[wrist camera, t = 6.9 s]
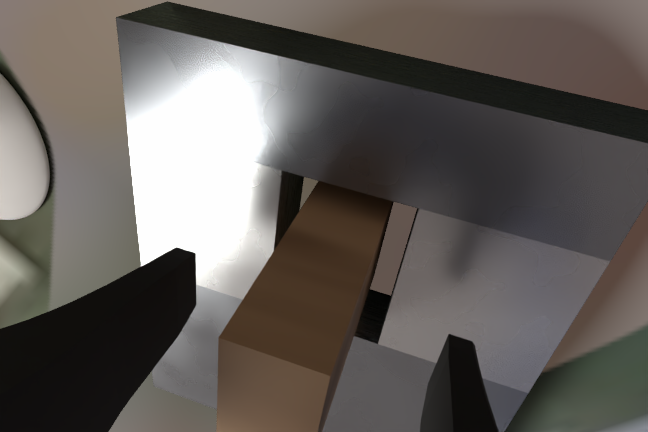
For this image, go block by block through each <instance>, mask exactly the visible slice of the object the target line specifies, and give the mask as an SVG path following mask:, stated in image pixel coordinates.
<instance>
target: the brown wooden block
mask: <svg viewBox="0 0 648 432" xmlns="http://www.w3.org/2000/svg"><path fill="white" fill-rule="evenodd" d="M393 202H394V201H390V200H386V199H383V198H379V197H376V196H372V195H368V194H365V193H361V192H358V191H354V190H350V189H347V188H343V187H340V186H336V185H332V184H329V183H325V182H322V181H318V183H317V185H316V186H315V188H314V189H313V191H312V192H311V194H310V195H309V197H308V199H307V200H306V202H305V203H304V205H303V206H302V208H301V209H300V211H299V213H298V214H297V216H296V217H295V219H294V220H293V222H292V224H291V225H290V227H289V228H288V230H287V231H286V233H285V234H284V236H283V238H282V239H281V241H280V242H279V244H278V245H277V247H276V249H275V250H274V252H273V253H272V255H271V256H270V258H269V259H268V261H267V263H266V264H265V266H264V267H263V269H262V270H261V272H260V274H259V275H258V277H257V278H256V280H255V281H254V283H253V285H252V286H251V288H250V289H249V291H248V292H247V294H246V295H245V297H244V299H243V300H242V302H241V303H240V305H239V306H238V308H237V310H236V311H235V313H234V314H233V316H232V317H231V319H230V320H229V322H228V324H227V325H226V327H225V328H224V330H223V331H222V333H221V335H220V336H219V338H218V385H217V432H322V431H323V428H324V425H325V422H326V419H327V416H328V413H329V410H330V407H331V404H332V401H333V398H334V395H335V392H336V389H337V386H338V383H339V380H340V377H341V374H342V371H343V368H344V365H345V361H346V358H347V355H348V352H349V349H350V346H351V343H352V340H353V337H354V334H355V331H356V328H357V325H358V322H359V319H360V316H361V313H362V310H363V307H364V304H365V301H366V298H367V295H368V292H369V289H370V286H371V283H372V280H373V277H374V274H375V269H376V266H377V262H378V258H379V255H380V251H381V247H382V243H383V240H384V236H385V232H386V228H387V224H388V221H389V217H390V213H391V209H392V206H393Z"/></svg>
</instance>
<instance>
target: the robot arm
mask: <svg viewBox="0 0 648 432" xmlns="http://www.w3.org/2000/svg"><path fill="white" fill-rule="evenodd" d="M195 307H196V253H194V252H191V251H187V250H184V249H181V248H178V247H175V248H174V249H172V250H170V251H168V252H166V253H164V254H162V255H161V256H159V257H157V258H155V259H153V260H152V261H150V262H148V263H146V264H144V265H143V266H141V267H139V268H137V269H136V270H134V271H132V272H130V273H128V274H126V275H124V276H123V277H121V278H119V279H117V280H115V281H113V282H111V283H110V284H108V285H106V286H104V287H102V288H99V289H97V290H95V291H93V292H91V293H89V294H87V295H85V296H83V297H81V298H79V299H77V300H75V301H73V302H70V303H68V304H66V305H64V306H61V307H59V308H57V309H54V310H52V311H49V312H47V313H44V314H41V315H39V316H36V317H34V318H31V319H29V320H26V321H23V322H20V323H17V324H14V325H11V326H8V327H5V328H2V329H0V432H108V431H109V430H110V428H111V427H112V425H113V423H114V422H115V420H116V419H117V417H118V416H119V414H120V412H121V411H122V409H123V408H124V407H125V405H126V404H127V402H128V401H129V400H130V398H131V397H132V396H133V394H134V393H135V392H136V390H137V389H138V388H139V387H140V385H141V384H142V383H143V381H144V380H145V379H146V378H147V376H148V375H149V374H150V372H151V371H152V370H153V368H154V367H155V366H156V365H157V363H158V362H159V361H160V359H161V358H162V357H163V356H164V354H165V353H166V352H167V350H168V349H169V348H170V346H171V345H172V344H173V342H174V341H175V340H176V338H177V337H178V336H179V334H180V332H181V331H182V329H183V327H184V326H185V324H186V323H187V321H188V319H189V317H190V315H191V314H192V312H193V310H194V308H195ZM420 432H499V430H498V427H497V424H496V421H495V418H494V415H493V412H492V409H491V406H490V403H489V400H488V397H487V393H486V390H485V386H484V382H483V379H482V375H481V371H480V367H479V362H478V358H477V353H476V348H475V345H474V343H473V341H470V340H467V339H464V338H461V337H457V336H454V335H451V334H448V337H447V339H446V341H445V344H444V346H443V349H442V351H441V353H440V356H439V358H438V361H437V363H436V365H435V368H434V370H433V372H432V375H431V377H430V380H429V382H428V386H427V391H426V396H425V401H424V406H423V411H422V416H421V424H420Z"/></svg>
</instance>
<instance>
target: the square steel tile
mask: <svg viewBox="0 0 648 432" xmlns="http://www.w3.org/2000/svg"><path fill="white" fill-rule="evenodd" d="M116 22H117V32H118V42H119V52H120V62H121V71H122V81H123V91H124V99H125V100H124V101H125V110H126V120H127V130H128V139H129V150H130V159H131V169H132V178H133V188H134V198H135V208H136V218H137V228H138V238H139V247H140V257H141V266H143V265H144V264H146V263H148V262H150V261H152V260H153V259H155V258H157V257H159V256H161V255H162V254H164V253H166V252H168V251H170V250H172V249H174V248H175V247H178V248H181V249H184V250H187V251H191V252H194V253H196V307H195V308H194V310H193V312H192V314H191V315H190V317H189V319H188V321H187V323H186V324H185V326H184V327H183V329H182V331H181V332H180V334H179V336H178V337H177V338H176V340H175V341H174V342H173V344H172V345H171V346H170V348H169V349H168V350H167V352H166V353H165V354H164V356H163V357H162V358H161V359H160V361H159V362H158V363H157V365H156V366H155V367H154V368H153V370H152V374H153V384H154V386H155V387H157V388H160V389H163V390H165V391H168V392H171V393H173V394H176V395H179V396H182V397H184V398H187V399H190V400H193V401H195V402H198V403H200V404H203V405H206V406H209V407H212V408H214V409H217V385H218V338H219V336H220V335H221V333H222V331H223V330H224V328H225V327H226V325H227V324H228V322H229V320H230V319H231V317H232V316H233V314H234V313H235V311H236V310H237V308H238V306H239V305H240V303H241V302H242V300H243V299H244V297H245V295H246V294H247V292H248V291H249V289H250V288H251V286H252V285H253V283H254V281H255V280H256V278H257V277H258V275H259V274H260V272H261V270H262V269H263V267H264V266H265V264H266V263H267V261H268V259H269V258H270V256H271V255H272V253H273V252H274V250H275V249H276V247H277V245H278V244H279V242H280V241H281V239H282V238H283V236H284V234H285V233H286V231H287V230H288V228H289V227H290V225H291V224H292V222H293V220H294V219H295V217H296V216H297V214H298V213H299V209H300V201H301V194H302V186H303V179H304V177H308V178H311V179H315V180H318V181H322V182H325V183H329V184H332V185H336V186H340V187H343V188H347V189H350V190H354V191H358V192H361V193H365V194H368V195H372V196H376V197H379V198H383V199H386V200H390V201H394V202H398V203H401V204H405V205H408V206H412V207H415V208H417V211H416V214H415V218H414V221H413V224H412V228H411V231H410V234H409V238H408V242H407V244H406V248H405V251H404V255H403V258H402V261H401V264H400V268H399V271H398V274H397V278H396V281H395V284H394V288H393V291H392V295H391V296H390V295H387V294H383V293H380V292H377V291H374V290H370V289H369V292H368V295H367V298H366V301H365V304H364V307H363V310H362V313H361V316H360V319H359V322H358V325H357V328H356V331H355V334H354V337H353V340H352V343H351V346H350V349H349V352H348V355H347V358H346V361H345V365H344V368H343V371H342V374H341V377H340V380H339V383H338V386H337V389H336V392H335V395H334V398H333V401H332V404H331V407H330V410H329V413H328V416H327V419H326V422H325V425H324V428H323V431H322V432H420V424H421V416H422V411H423V406H424V401H425V396H426V391H427V386H428V382H429V380H430V377H431V375H432V372H433V370H434V368H435V365H436V363H437V361H438V358H439V356H440V353H441V351H442V349H443V346H444V344H445V341H446V339H447V337H448V334H451V335H454V336H457V337H461V338H464V339H467V340H470V341H473V343H474V345H475V348H476V353H477V358H478V362H479V367H480V371H481V375H482V379H483V382H484V386H485V390H486V393H487V397H488V400H489V403H490V406H491V409H492V412H493V415H494V418H495V421H496V424H497V427H498V430H499V432H504V431H505V430H506V428H507V427H508V425H509V423H510V422H511V420H512V419H513V417H514V415H515V414H516V412H517V411H518V409H519V407H520V406H521V404H522V402H523V401H524V399H525V398H526V396H527V394H528V393H529V391H530V390H531V388H532V386H533V385H534V383H535V382H536V380H537V378H538V377H539V375H540V374H541V372H542V370H543V369H544V367H545V366H546V364H547V362H548V361H549V359H550V358H551V356H552V354H553V353H554V351H555V349H556V348H557V346H558V345H559V343H560V341H561V340H562V338H563V336H564V335H565V333H566V332H567V330H568V329H569V327H570V325H571V324H572V322H573V321H574V319H575V317H576V316H577V314H578V313H579V311H580V309H581V308H582V306H583V304H584V303H585V301H586V300H587V298H588V297H589V295H590V293H591V292H592V290H593V288H594V287H595V285H596V284H597V282H598V280H599V279H600V277H601V276H602V274H603V272H604V271H605V269H606V268H607V266H608V264H609V263H610V261H611V260H612V258H613V256H614V255H615V253H616V251H617V250H618V248H619V247H620V245H621V244H622V242H623V240H624V238H625V237H626V235H627V234H628V232H629V231H630V229H631V227H632V226H633V224H634V223H635V221H636V219H637V218H638V216H639V215H640V213H641V211H642V210H643V208H644V206H645V205H646V203H647V202H648V110H643V109H639V108H635V107H630V106H625V105H621V104H617V103H613V102H608V101H604V100H599V99H595V98H591V97H586V96H582V95H577V94H572V93H568V92H564V91H559V90H555V89H551V88H546V87H542V86H538V85H533V84H529V83H524V82H519V81H516V80H511V79H507V78H502V77H498V76H493V75H489V74H484V73H480V72H476V71H471V70H467V69H462V68H458V67H454V66H449V65H445V64H441V63H436V62H431V61H427V60H423V59H418V58H414V57H409V56H405V55H400V54H396V53H392V52H388V51H383V50H379V49H374V48H369V47H365V46H361V45H357V44H352V43H348V42H343V41H339V40H335V39H330V38H326V37H321V36H317V35H313V34H308V33H304V32H299V31H295V30H291V29H286V28H282V27H277V26H273V25H268V24H264V23H260V22H255V21H251V20H246V19H242V18H238V17H233V16H229V15H224V14H220V13H216V12H211V11H206V10H202V9H198V8H193V7H189V6H184V5H180V4H175V3H171V2H164V3H161V4H158V5H155V6H151V7H148V8H145V9H142V10H138V11H135V12H132V13H129V14H125V15H122V16H119V17H116Z"/></svg>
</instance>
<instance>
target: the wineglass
mask: <svg viewBox="0 0 648 432" xmlns="http://www.w3.org/2000/svg"><path fill="white" fill-rule="evenodd" d="M49 182H50V168H49V161H48V156H47V151H46V148H45V145H44V142H43V139H42V136H41V134H40V131H39V129H38V127H37V125H36V123H35V121H34V119H33V117H32V115H31V114H30V112H29V110H28V108H27V107H26V105H25V104H24V102H23V101H22V99H21V98H20V96H19V95H18V94H17V92H16V91H15V90H14V88H13V87H12V86H11V85H10V83H9V82H8V81H7V80H6V79H5V78H4V76H3V75H2V74H1V73H0V219H4V220H14V219H21V218H24V217H27V216H29V215H31V214H32V213H34V212H35V211H36V210H37V209H38V208H39V207H40V206H41V205H42V203H43V202H44V200H45V197H46V195H47V192H48V188H49Z"/></svg>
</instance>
